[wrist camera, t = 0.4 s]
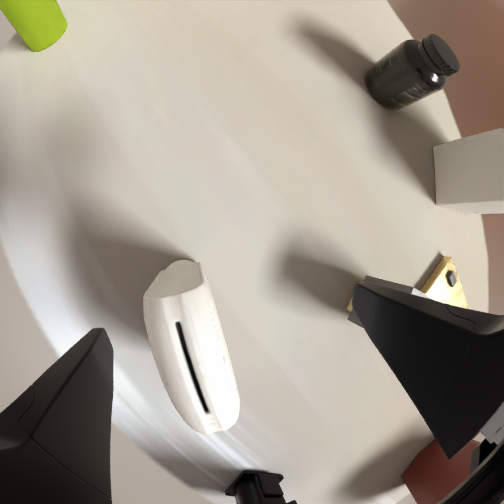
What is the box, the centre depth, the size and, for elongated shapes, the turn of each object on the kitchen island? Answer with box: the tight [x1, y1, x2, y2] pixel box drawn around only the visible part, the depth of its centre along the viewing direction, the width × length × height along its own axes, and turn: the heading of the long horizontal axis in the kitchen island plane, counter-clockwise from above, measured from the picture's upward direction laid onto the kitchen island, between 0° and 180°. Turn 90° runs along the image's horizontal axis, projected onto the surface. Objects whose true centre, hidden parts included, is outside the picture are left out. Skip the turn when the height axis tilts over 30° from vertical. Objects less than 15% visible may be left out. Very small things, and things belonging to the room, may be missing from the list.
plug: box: [346, 276, 434, 328], centre depth 24 cm, size 5×5×9 cm
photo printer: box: [143, 260, 240, 435], centre depth 18 cm, size 10×4×12 cm, turn 11°
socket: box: [420, 256, 468, 309], centre depth 31 cm, size 14×14×2 cm
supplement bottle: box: [365, 34, 460, 110], centre depth 22 cm, size 7×7×12 cm
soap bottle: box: [433, 128, 504, 214], centre depth 21 cm, size 9×9×19 cm
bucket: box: [401, 439, 481, 504], centre depth 25 cm, size 24×22×25 cm
